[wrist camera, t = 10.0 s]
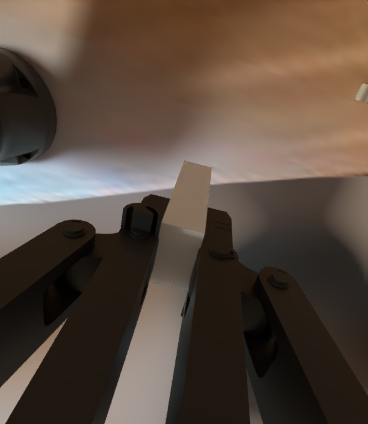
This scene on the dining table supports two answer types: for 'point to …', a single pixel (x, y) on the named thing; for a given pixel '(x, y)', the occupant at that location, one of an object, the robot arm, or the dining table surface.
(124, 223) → the robot arm
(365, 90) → the dock
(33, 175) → the dining table surface
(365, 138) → the dining table surface
